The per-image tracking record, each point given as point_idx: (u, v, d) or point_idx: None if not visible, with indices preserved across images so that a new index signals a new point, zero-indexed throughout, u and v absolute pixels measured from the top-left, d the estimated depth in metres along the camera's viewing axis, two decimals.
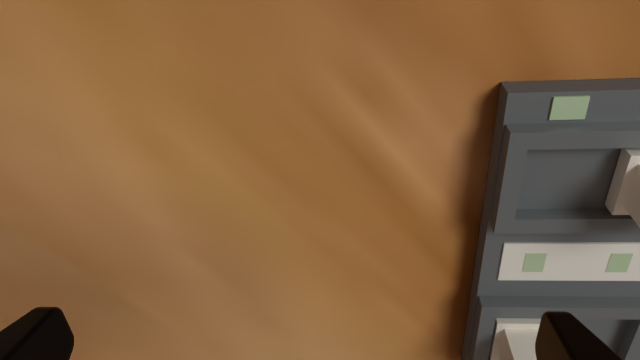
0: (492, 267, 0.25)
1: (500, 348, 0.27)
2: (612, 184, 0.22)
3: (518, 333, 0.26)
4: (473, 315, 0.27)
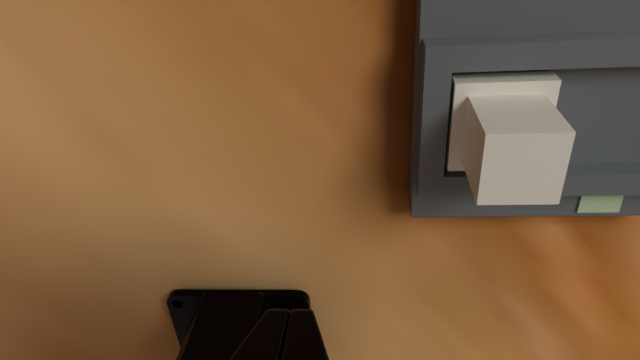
0: None
1: (463, 142, 0.16)
2: None
3: (492, 98, 0.14)
4: (417, 88, 0.16)
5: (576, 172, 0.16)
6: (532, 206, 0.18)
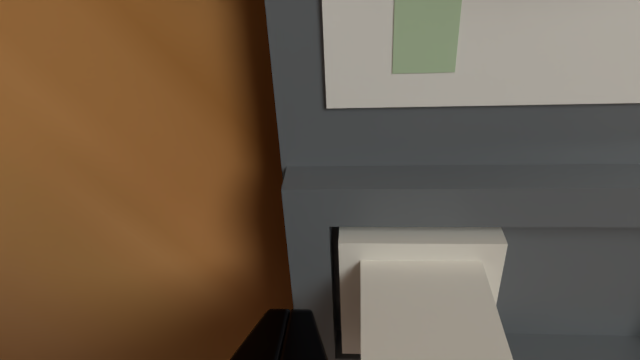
0: (305, 63, 0.08)
1: (360, 319, 0.10)
2: None
3: (396, 271, 0.09)
4: None
5: (535, 355, 0.11)
6: None
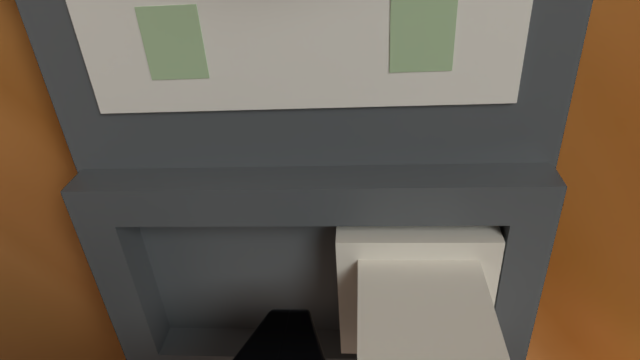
0: (71, 70, 0.09)
1: None
2: None
3: (393, 270, 0.09)
4: None
5: None
6: None
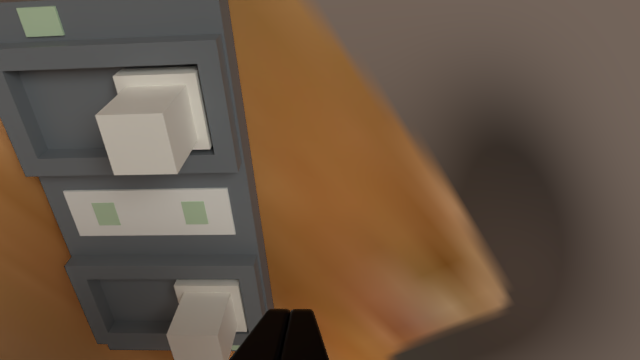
0: (68, 221, 0.22)
1: None
2: None
3: (195, 296, 0.23)
4: None
5: None
6: None
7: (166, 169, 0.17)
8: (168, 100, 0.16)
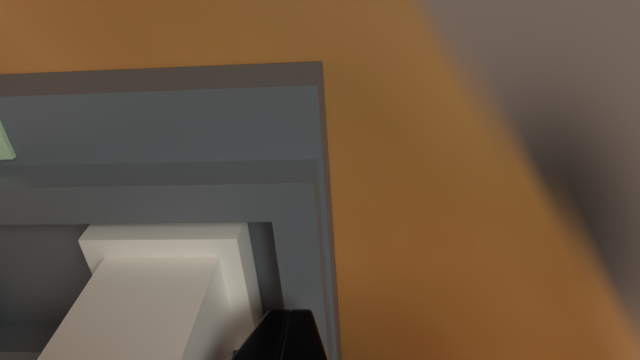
0: None
1: None
2: None
3: None
4: None
5: None
6: None
7: None
8: (186, 316, 0.08)
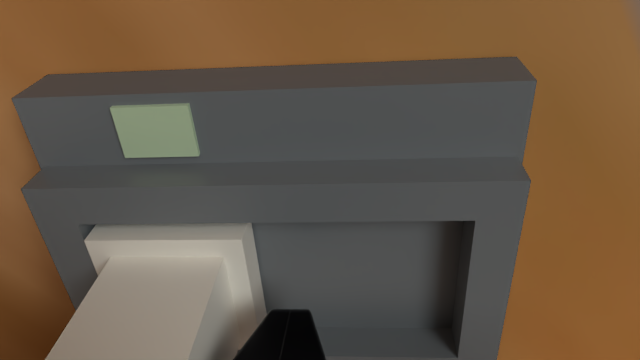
0: None
1: None
2: None
3: None
4: None
5: None
6: None
7: None
8: (193, 316, 0.08)
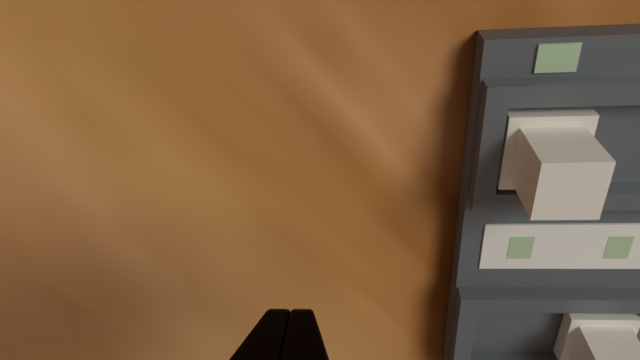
0: (473, 253, 0.22)
1: (572, 349, 0.23)
2: None
3: (597, 331, 0.22)
4: (452, 310, 0.24)
5: None
6: None
7: (589, 215, 0.16)
8: (597, 146, 0.16)
